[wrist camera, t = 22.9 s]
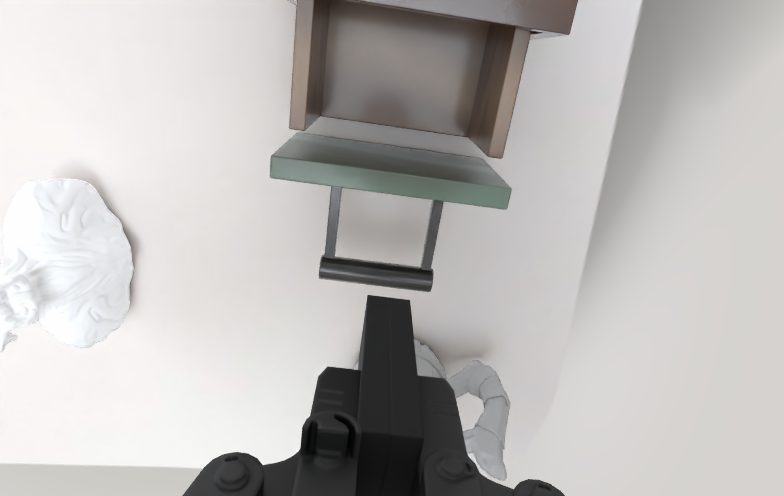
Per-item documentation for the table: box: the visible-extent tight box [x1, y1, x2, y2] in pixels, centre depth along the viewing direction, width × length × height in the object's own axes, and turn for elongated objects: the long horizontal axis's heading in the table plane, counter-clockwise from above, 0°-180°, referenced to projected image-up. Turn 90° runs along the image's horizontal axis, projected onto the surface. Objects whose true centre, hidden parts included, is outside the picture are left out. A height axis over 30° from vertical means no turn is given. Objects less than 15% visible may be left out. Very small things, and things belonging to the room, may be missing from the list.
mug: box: [354, 339, 510, 480], centre depth 34 cm, size 8×12×12 cm, turn 104°
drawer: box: [270, 0, 531, 292], centre depth 27 cm, size 21×13×8 cm, turn 172°
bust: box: [0, 178, 134, 353], centre depth 31 cm, size 12×8×11 cm
